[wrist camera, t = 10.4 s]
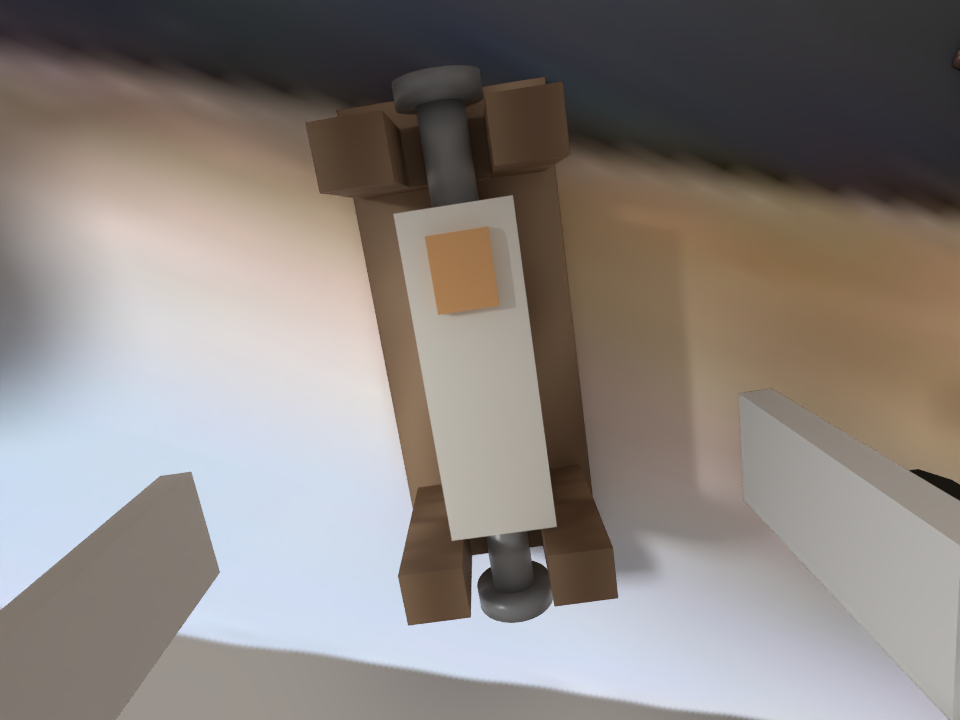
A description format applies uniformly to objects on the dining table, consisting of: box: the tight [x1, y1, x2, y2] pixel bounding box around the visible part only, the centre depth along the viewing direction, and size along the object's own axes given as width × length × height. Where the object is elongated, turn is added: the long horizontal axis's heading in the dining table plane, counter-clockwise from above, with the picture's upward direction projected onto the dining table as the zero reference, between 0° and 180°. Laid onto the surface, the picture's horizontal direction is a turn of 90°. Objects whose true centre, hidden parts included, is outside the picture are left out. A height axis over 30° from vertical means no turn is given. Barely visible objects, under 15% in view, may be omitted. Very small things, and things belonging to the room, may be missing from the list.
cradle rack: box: [306, 77, 618, 625], centre depth 28 cm, size 10×24×9 cm, turn 8°
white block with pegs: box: [391, 65, 557, 623], centre depth 27 cm, size 5×24×6 cm, turn 8°
